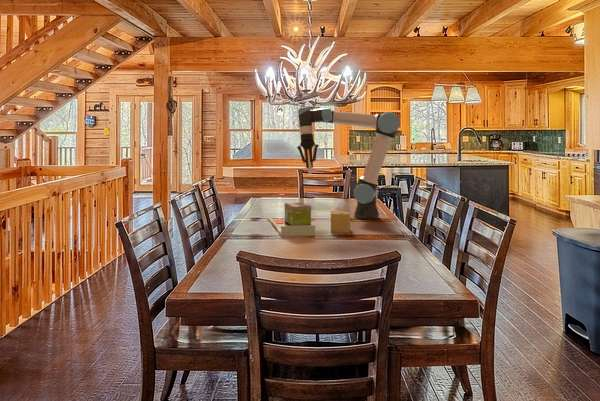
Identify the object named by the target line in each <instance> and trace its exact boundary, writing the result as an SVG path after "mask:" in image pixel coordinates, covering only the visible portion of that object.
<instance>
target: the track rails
mask: <svg viewBox="0 0 600 401" xmlns="http://www.w3.org/2000/svg"><path fill="white" fill-rule="evenodd" d="M273 220H274V219H273V218H272V217H268V218H267V221H268V222H269V223H270V225H272V227H273V228H274V229H275V230H276V231H277V229H281V227H280V226H279V224H276V223H275V222H274V221H273Z"/></svg>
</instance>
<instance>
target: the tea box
mask: <svg viewBox="0 0 600 401" xmlns="http://www.w3.org/2000/svg"><path fill="white" fill-rule="evenodd" d="M284 219H285V224H284V226H295V225H312V206H311V205H309V204H306V203H304V202H284Z"/></svg>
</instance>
